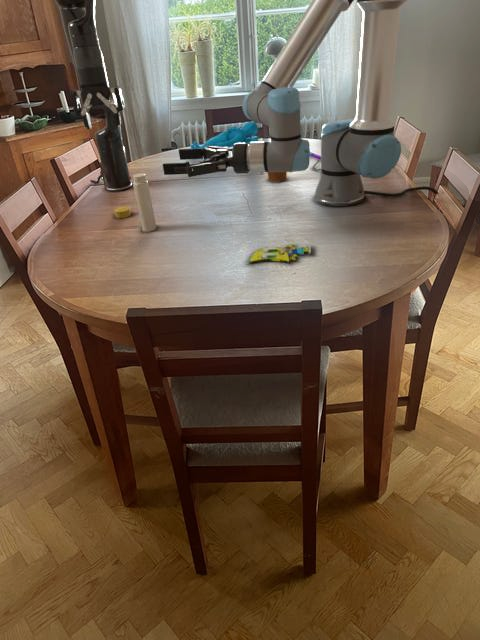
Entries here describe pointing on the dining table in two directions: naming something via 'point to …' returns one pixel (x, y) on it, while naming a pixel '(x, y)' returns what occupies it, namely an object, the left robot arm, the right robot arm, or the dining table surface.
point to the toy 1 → (232, 136)
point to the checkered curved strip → (315, 157)
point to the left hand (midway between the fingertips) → (104, 127)
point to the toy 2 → (278, 254)
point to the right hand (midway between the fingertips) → (171, 161)
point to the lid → (122, 212)
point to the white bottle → (144, 202)
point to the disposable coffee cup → (277, 176)
